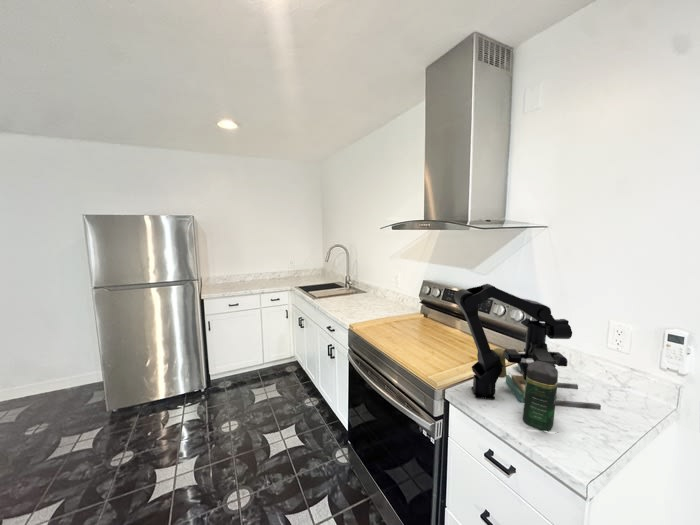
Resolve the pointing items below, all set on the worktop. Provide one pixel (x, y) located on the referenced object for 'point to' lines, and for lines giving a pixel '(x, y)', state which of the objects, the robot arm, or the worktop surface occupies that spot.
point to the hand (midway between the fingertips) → (532, 380)
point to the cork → (502, 358)
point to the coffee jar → (540, 395)
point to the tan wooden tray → (519, 382)
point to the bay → (521, 399)
